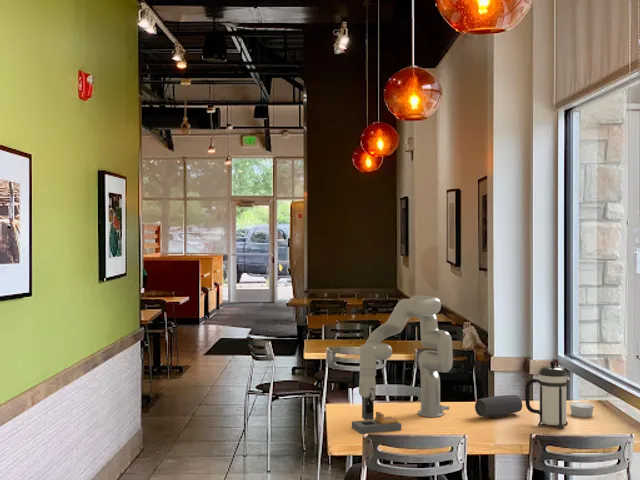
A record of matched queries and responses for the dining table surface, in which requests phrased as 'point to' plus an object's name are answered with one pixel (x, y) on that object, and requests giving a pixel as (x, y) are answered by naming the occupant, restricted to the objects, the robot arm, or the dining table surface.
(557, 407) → the coffee press
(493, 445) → the dining table surface
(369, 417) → the dark grey square bottle
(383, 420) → the orange l-shaped block
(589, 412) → the ramekin
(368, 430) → the socket block
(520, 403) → the bluetooth speaker
